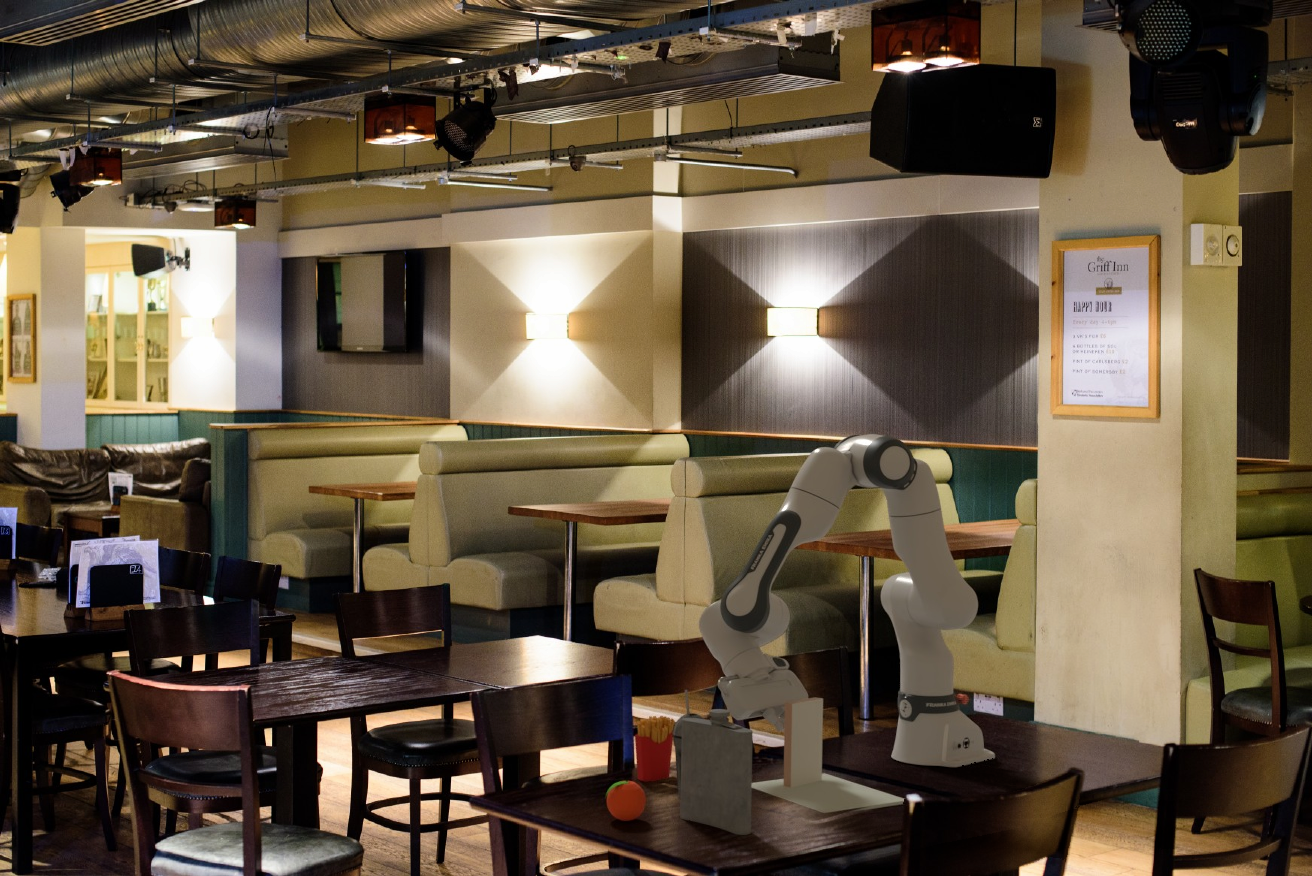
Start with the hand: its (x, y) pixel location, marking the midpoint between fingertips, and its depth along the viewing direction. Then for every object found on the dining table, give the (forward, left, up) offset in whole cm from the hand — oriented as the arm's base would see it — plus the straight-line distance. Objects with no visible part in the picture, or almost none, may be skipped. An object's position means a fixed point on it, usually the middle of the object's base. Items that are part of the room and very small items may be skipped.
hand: (786, 729), depth 301 cm
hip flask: (+30, +20, -11) cm, 38 cm away
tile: (-1, +4, -10) cm, 11 cm away
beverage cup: (+23, +1, -11) cm, 25 cm away
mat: (0, +12, -10) cm, 16 cm away
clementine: (+43, +10, -11) cm, 46 cm away
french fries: (+21, -15, -11) cm, 28 cm away
